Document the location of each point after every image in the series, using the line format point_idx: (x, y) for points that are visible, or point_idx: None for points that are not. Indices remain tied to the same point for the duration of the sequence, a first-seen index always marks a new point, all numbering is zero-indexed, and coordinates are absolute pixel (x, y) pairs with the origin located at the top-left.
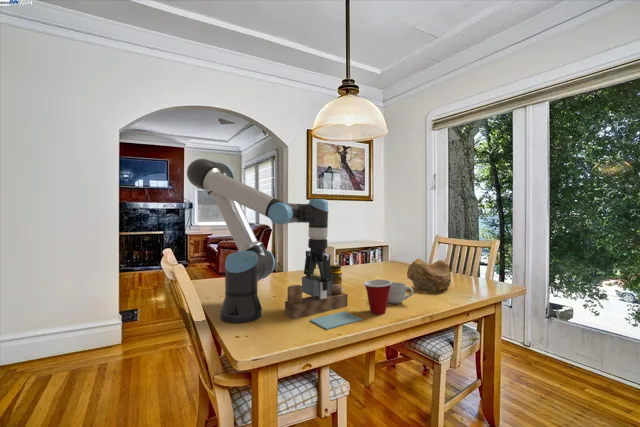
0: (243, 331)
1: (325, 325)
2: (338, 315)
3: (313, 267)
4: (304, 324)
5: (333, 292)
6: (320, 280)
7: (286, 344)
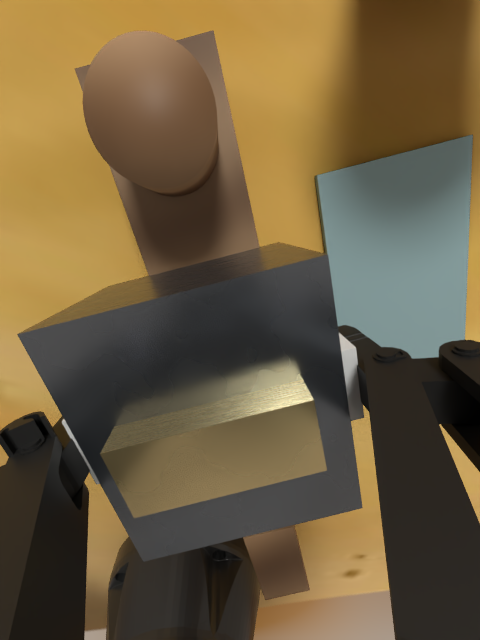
0: (324, 562)
1: (435, 350)
2: (362, 243)
3: (49, 593)
4: (363, 409)
5: (197, 186)
6: (348, 429)
7: (471, 487)
